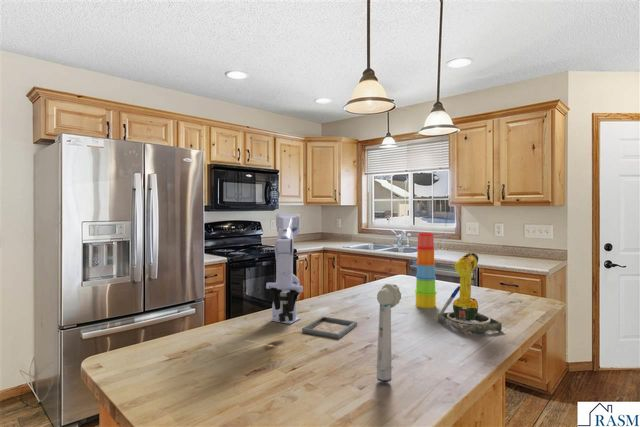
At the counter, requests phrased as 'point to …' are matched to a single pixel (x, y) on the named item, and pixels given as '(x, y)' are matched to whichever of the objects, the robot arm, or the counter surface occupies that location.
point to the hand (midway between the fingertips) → (284, 310)
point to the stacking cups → (425, 272)
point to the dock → (309, 330)
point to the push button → (284, 308)
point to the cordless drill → (466, 302)
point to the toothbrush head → (385, 330)
